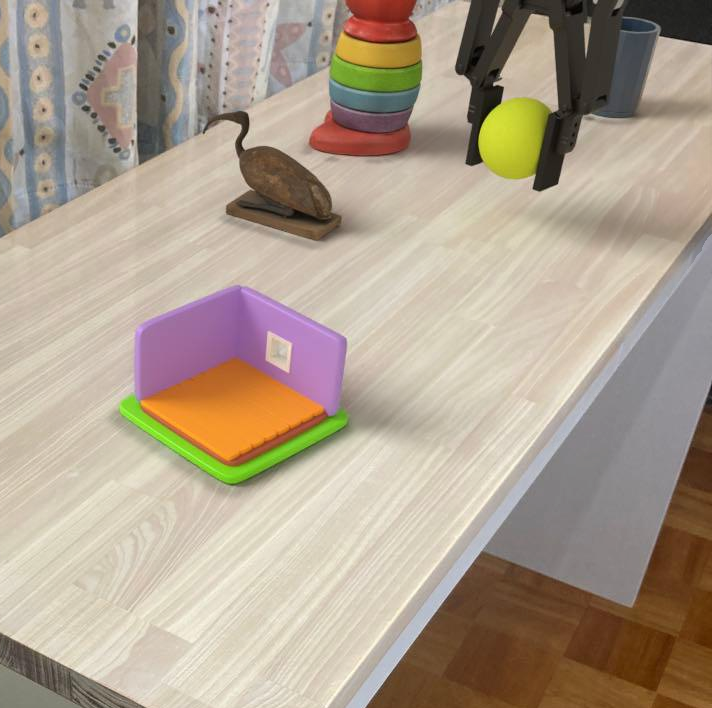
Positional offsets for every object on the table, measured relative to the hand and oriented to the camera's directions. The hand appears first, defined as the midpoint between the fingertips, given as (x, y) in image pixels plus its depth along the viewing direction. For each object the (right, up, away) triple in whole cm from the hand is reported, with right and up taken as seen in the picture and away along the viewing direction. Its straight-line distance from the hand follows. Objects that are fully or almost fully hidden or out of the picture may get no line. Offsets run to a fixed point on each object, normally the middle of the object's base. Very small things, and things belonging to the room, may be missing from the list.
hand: (510, 173), depth 102 cm
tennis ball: (0, +2, -2) cm, 3 cm away
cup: (+20, +16, +28) cm, 38 cm away
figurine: (-22, -3, +4) cm, 22 cm away
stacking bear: (-10, +10, +19) cm, 24 cm away
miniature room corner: (-26, -24, -22) cm, 42 cm away
